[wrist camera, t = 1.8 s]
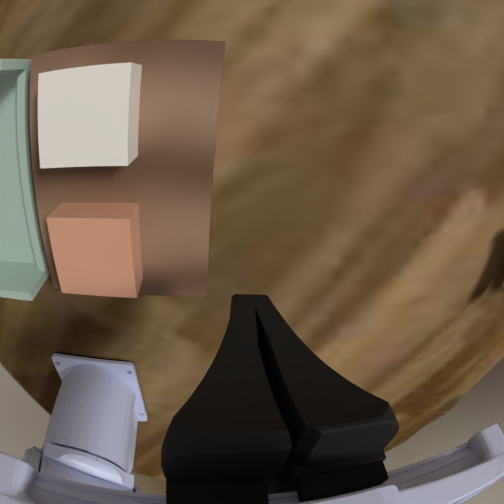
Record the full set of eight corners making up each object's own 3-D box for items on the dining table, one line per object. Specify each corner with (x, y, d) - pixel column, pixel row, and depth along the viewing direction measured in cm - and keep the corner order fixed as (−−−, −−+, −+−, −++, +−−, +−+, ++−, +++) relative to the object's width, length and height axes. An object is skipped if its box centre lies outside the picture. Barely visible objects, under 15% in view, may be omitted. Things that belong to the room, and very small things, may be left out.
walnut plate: (206, 273, 21) (206, 297, 19) (66, 267, 20) (53, 288, 17) (223, 47, 14) (225, 41, 12) (52, 57, 13) (31, 55, 11)
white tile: (138, 155, 14) (127, 165, 13) (57, 158, 14) (40, 168, 12) (142, 65, 12) (131, 62, 10) (57, 73, 12) (38, 73, 10)
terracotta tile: (142, 277, 18) (136, 298, 16) (73, 273, 17) (61, 292, 15) (138, 203, 16) (129, 219, 14) (61, 202, 15) (46, 217, 13)
